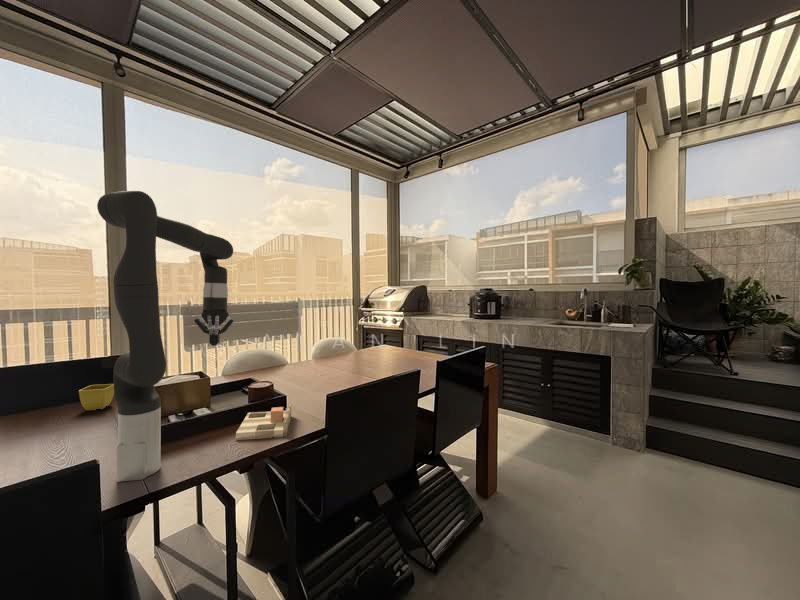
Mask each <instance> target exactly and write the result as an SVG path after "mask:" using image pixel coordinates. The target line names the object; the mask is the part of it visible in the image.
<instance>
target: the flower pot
mask: <svg viewBox="0 0 800 600" xmlns="http://www.w3.org/2000/svg"><path fill="white" fill-rule="evenodd" d="M78 395H79V400H80V404H81V406H82V407H83V408H84V409H85V410H86V411H97V410H96V409H101V410H103V409H105V408H107V407H108V406H110V404H111V402H112V400H113V399H114V383H107V384H104V383H103V384H91V385H88V386H86V387H84V388H82V389H79V390H78ZM106 406H107V407H106Z"/></svg>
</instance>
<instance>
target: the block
mask: <svg viewBox="0 0 800 600" xmlns="http://www.w3.org/2000/svg"><path fill="white" fill-rule="evenodd" d="M270 411H271V422H282V420H283V411H284V406H278V407H271V410H270Z"/></svg>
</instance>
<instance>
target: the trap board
mask: <svg viewBox="0 0 800 600" xmlns="http://www.w3.org/2000/svg"><path fill="white" fill-rule="evenodd" d="M291 417H292V403H288V406H287V409H286V410H283V420H282V422H271V410H270V411H256V412H254V411H252V412H247V414H246V416H245V417H244V419H243V421H242V422H241V424H240V426H239V427H238V428H237V430H236V431H235V441H243V440H244V441H245V440H259V439H272V437H274V438H284V437H283V436H286V437H287V436H288V435H287V434H288V429H289V426H290V422H291V419H292V418H291Z"/></svg>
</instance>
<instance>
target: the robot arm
mask: <svg viewBox="0 0 800 600" xmlns="http://www.w3.org/2000/svg"><path fill="white" fill-rule="evenodd" d="M96 207H97V211H98V214H99V215H100V217H101V218H102V219H103V220H104V221H105V222H106V223H107V224H108V225H111V226H113V227H117V228H121V229H125V239H126V242H125V248H124V251H123V254H122V255H121V256H122V257H121V258H120V260H119V262H118V265H117V266H116V269H115V271H114V275H113V280H112V282H113V294H114V297H113V298H114V304H115V307H116V310H117V312H118V314H119V317H120V319H121V321H122V323H123V327H124V328H125V330H126V332H127V336H128V347H129V349H128V351H126V352H124V353H122V354H121V355H120V356H119V357H118V358H117V360H116V361H115V363H114V366H113V371H112V373H113V374H112V376H113V377H112V378H113V384H114V396H113V399H114V402H115V405H116V406H117V447H116V482H118V483H119V482H130V481H139V480H140V481H141V480H145V479H146V478H147V477H149V476H151V475H153V474H155V473H156V472H159V470H160V469H161V456H162V455H161V440H162V438H161V435H162V433H161V431H162V430H161V429H162V428H161V425H162V423H161V422H162V421H161V415H162V413H161V412H162V409H161V408H162V404H161V403H162V400H161V396H160V395H159V393H158V392H157V391H156V388H155V385H157V384H158V383H159V382H161V381H162V379H163V378H164V376H165V374H166V371H167V360H166V355H165V354H166V353H165V349H164V344H163V340H162V333H161V317H160V316H161V315H160V306H159V305H160V303H159V301H160V300H159V298H160V297H159V282H158V276H157V275H158V273H157V251H156V249H157V248H156V247H157V246H156V245H157V238H159V239H162V240H165V241H166V242H170V243H172V244H175V245H178V246H181V247H182V248H184V249H187V250H190V251H193V252H197V253H199V256H200V260H201V263H202V267H203V270H204V284H203V289H202V291H203V293H202V301H203V302H202V312H201V315H200V316H199V317H198V318H194V320H193V321H194V323H195V324H196V325H197V326H198V327H199V329H200V330H201V331H202V332H203V333H204V334H206V335H207V334H208V335H209V341H208V342H209V345H211V346H212V347H214V346H216V347H217V346H218V345H219V344H220V340H221V339H220V337H221V336H220V335H221V334H225V333H226V332H227V331H228V329H229V328H230V327H231V326H232V325H233V324H234V323H235V322H236V320H235V318H232V317H231V316H229V315H230V314H229V312H228V299H229V298H228V297H229V292H228V270H227V268H226V267H225V266H224V267H223V266H220V265H219V263H218V261H220V260H223V261H224V260H229V258H231V257H233V253H234V247H233V245H232V244H231V242H230V241H228V240H227V239H225V238H223V237H220V236H217V235H213V234H211V233H206V232H204V231H203V230H200V229H198V228H196V227H194V226H192V225H189V224H187V223H184V222H181V221H177V220H173V219H170V218H167V217H166V218H165V217H163V216H159V215H158V212H157V206H156V204H155V202H154V200H153V198H152V196H150V195H149V194H148V193H146V192H144V191H141V190H124V191H123V190H122V191H113V192H109V193H108V192H107V193H105V194H103V195H102V196H101V197H99V199H98V201H97V205H96ZM204 322H205V323H206V324H207V325H206V324H205V323H204ZM224 322H225V325H224V326H223V327H222V325H223V324H224Z"/></svg>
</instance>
